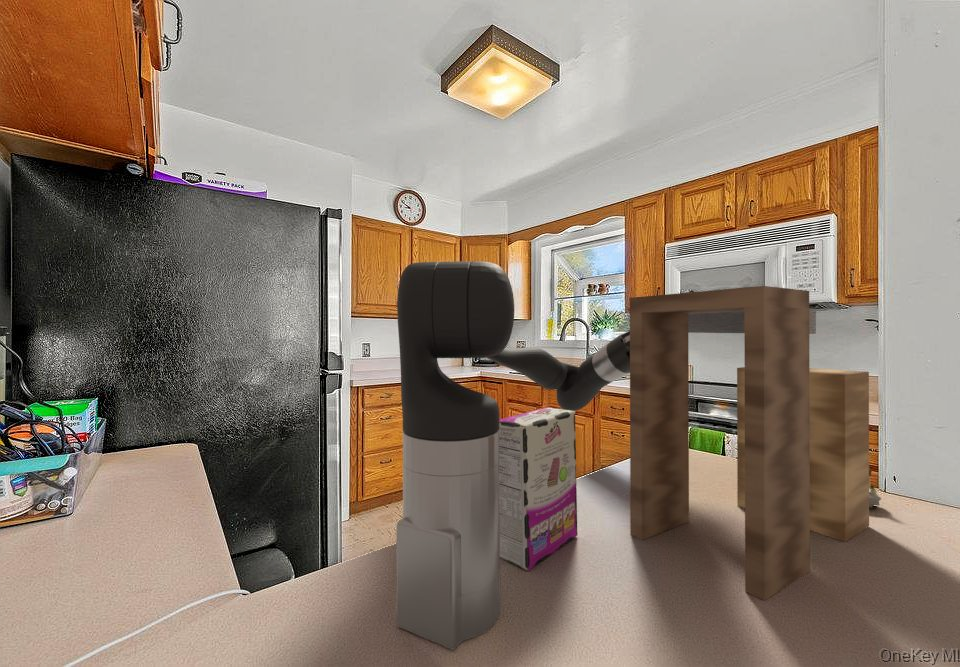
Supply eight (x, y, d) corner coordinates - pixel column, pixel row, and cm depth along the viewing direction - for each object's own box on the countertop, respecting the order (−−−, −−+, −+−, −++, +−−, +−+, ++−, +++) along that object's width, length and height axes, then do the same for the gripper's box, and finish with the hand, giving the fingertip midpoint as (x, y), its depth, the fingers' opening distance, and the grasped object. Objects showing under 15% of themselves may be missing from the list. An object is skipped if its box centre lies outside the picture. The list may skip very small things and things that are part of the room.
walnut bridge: (764, 600, 41) (763, 285, 41) (630, 534, 55) (629, 297, 55) (809, 570, 47) (809, 290, 46) (677, 516, 60) (676, 300, 60)
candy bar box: (546, 525, 58) (545, 406, 58) (578, 536, 54) (578, 410, 54) (493, 557, 50) (492, 418, 50) (527, 573, 46) (526, 424, 46)
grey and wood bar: (815, 333, 60) (816, 309, 60) (804, 334, 58) (805, 308, 58) (665, 331, 81) (665, 313, 81) (653, 332, 79) (653, 313, 79)
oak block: (869, 526, 57) (868, 371, 57) (845, 542, 53) (844, 375, 53) (763, 495, 68) (763, 365, 68) (737, 505, 64) (737, 367, 64)
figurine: (859, 511, 61) (863, 470, 62) (830, 500, 66) (834, 462, 66) (890, 515, 62) (894, 474, 62) (860, 504, 66) (863, 466, 67)
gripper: (588, 342, 86) (652, 295, 73) (634, 341, 93) (699, 298, 80) (602, 376, 83) (672, 333, 70) (648, 371, 90) (719, 332, 77)
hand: (686, 314), depth 75 cm, fingers closed on grey and wood bar, 3 cm apart
